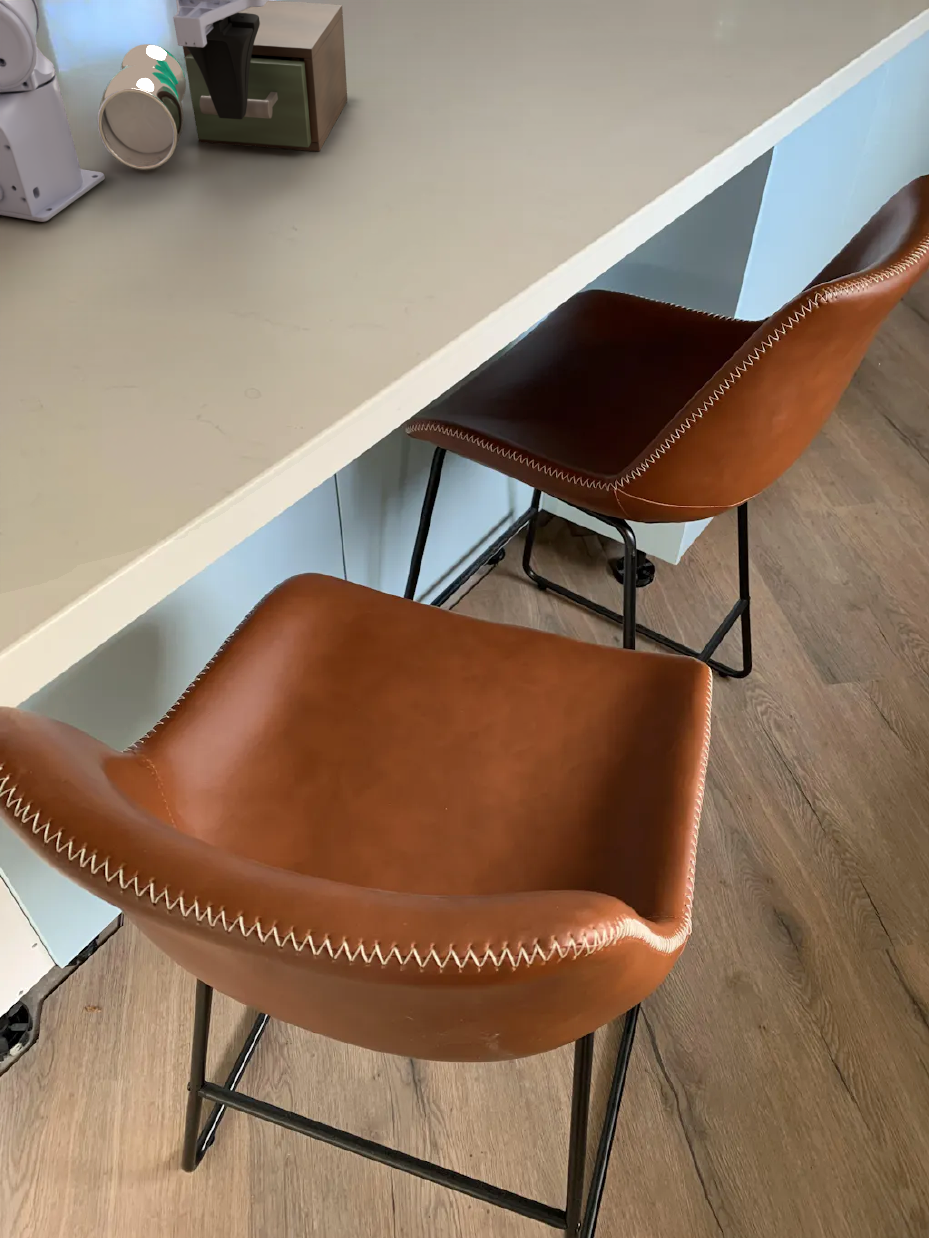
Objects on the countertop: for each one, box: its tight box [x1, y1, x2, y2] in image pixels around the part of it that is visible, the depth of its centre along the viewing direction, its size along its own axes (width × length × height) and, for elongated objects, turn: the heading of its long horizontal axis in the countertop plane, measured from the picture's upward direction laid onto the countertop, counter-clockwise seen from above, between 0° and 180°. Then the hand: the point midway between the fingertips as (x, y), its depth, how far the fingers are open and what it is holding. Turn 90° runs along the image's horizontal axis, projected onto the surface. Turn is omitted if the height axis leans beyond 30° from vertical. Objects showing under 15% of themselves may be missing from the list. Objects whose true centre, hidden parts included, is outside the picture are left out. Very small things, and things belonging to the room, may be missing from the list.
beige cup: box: [96, 43, 187, 171], centre depth 87 cm, size 7×7×15 cm
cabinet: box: [182, 0, 348, 152], centre depth 91 cm, size 14×12×9 cm
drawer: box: [184, 54, 311, 147], centre depth 88 cm, size 17×10×7 cm, turn 174°
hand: (232, 116), depth 81 cm, fingers closed, pressing on drawer
